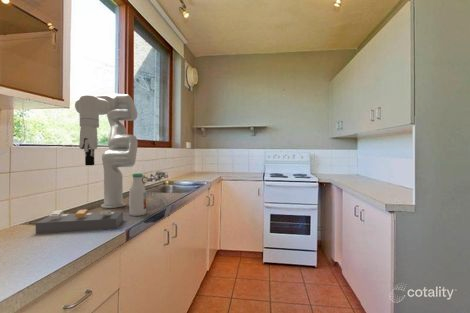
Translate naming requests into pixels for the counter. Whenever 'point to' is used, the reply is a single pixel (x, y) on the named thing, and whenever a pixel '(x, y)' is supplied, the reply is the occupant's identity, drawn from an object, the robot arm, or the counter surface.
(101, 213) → the white rocker
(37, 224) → the power strip
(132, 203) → the milk bottle
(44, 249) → the counter surface
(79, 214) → the amber rocker
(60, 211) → the white rocker
